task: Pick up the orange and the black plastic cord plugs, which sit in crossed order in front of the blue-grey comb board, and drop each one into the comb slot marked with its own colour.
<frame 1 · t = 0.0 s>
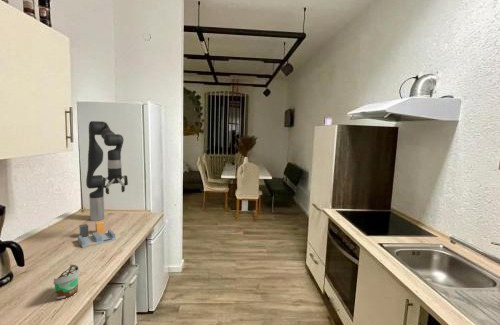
hand: (115, 193, 166), 29 cm above the table, fingers open, 8 cm apart
black plug: (84, 236, 171), on the table
food container: (71, 293, 114), on the table
comb board: (97, 240, 165), on the table
orange plug: (99, 232, 177), on the table
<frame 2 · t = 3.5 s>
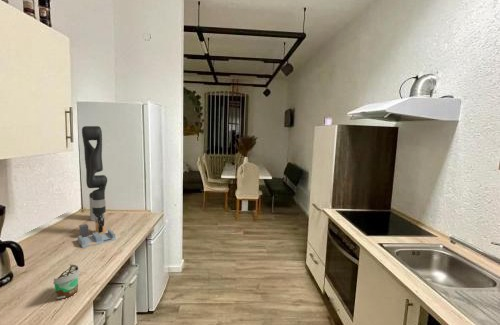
hand: (99, 230, 177), 1 cm above the table, fingers closed on orange plug, 4 cm apart
orange plug: (99, 232, 177), on the table, touching gripper
everything else where it was.
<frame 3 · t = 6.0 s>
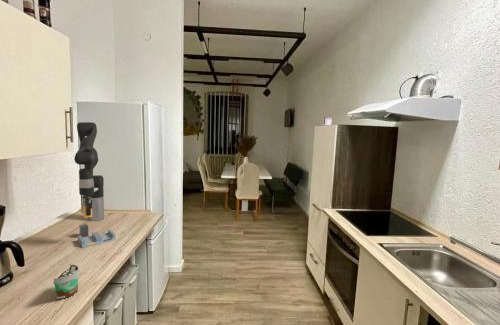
hand: (87, 214, 160), 18 cm above the table, fingers closed on orange plug, 4 cm apart
orange plug: (87, 216, 160), point 16 cm above the table, touching gripper
everything else where it was.
when the fingers open (4 cm above the table, at t = 9.0 s): orange plug drops 1 cm, resting on comb board.
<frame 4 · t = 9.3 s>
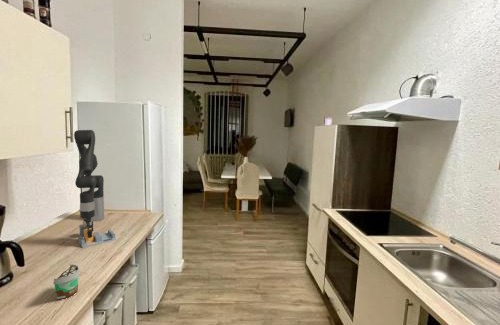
hand: (88, 235, 162), 4 cm above the table, fingers open, 7 cm apart
orange plug: (88, 240, 162), point 1 cm above the table, touching comb board
everything else where it was.
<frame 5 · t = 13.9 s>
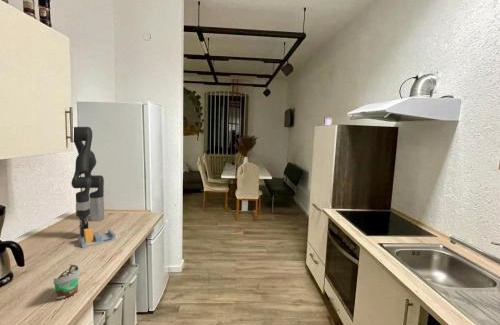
hand: (84, 234, 171), 1 cm above the table, fingers closed on black plug, 4 cm apart
black plug: (84, 236, 171), on the table, touching gripper
everything else where it was.
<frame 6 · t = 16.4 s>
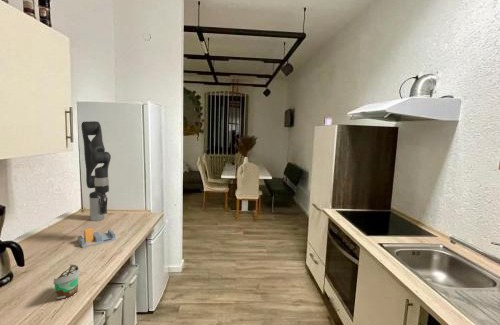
hand: (102, 211, 166), 18 cm above the table, fingers closed on black plug, 4 cm apart
black plug: (102, 213, 166), point 16 cm above the table, touching gripper
everything else where it was.
when the fingers open (4 cm above the table, at t = 19.4 s): black plug drops 1 cm, resting on comb board.
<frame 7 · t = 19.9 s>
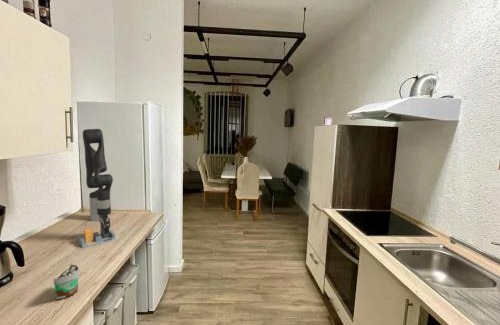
hand: (104, 231, 168), 5 cm above the table, fingers open, 8 cm apart
black plug: (105, 237, 168), point 1 cm above the table, touching comb board
everything else where it was.
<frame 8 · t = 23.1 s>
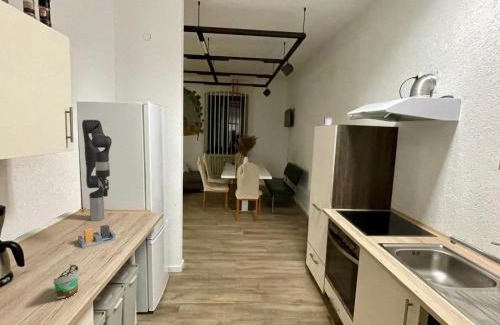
hand: (103, 194, 165), 28 cm above the table, fingers open, 8 cm apart
nothing on the table moved.
at the end: orange plug 0.0 cm from the target spot on the comb board, point 1.0 cm above the comb board's base; black plug 0.0 cm from the target spot on the comb board, point 1.0 cm above the comb board's base; black plug tilted 0° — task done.
